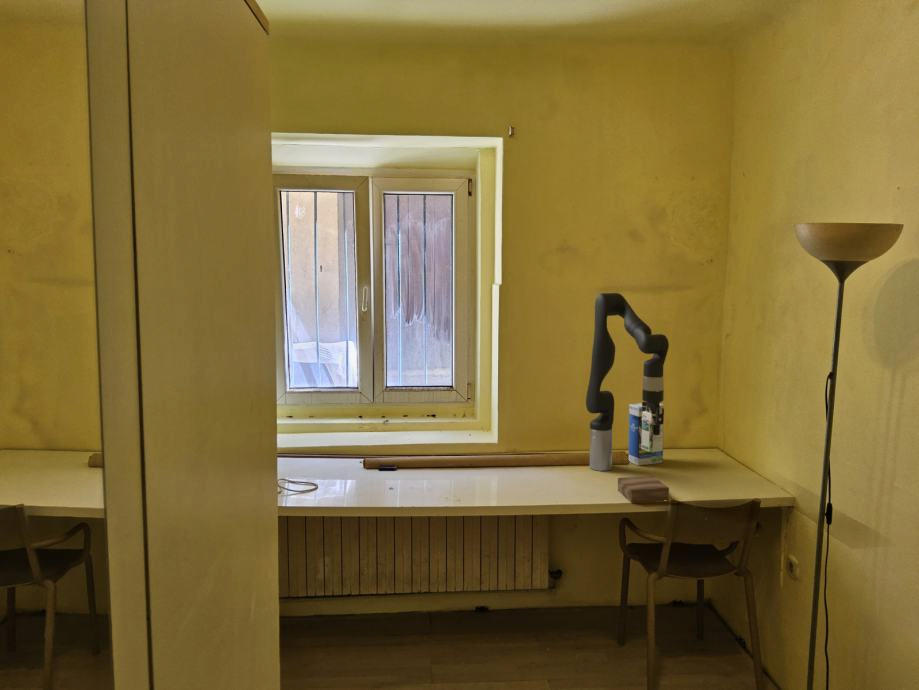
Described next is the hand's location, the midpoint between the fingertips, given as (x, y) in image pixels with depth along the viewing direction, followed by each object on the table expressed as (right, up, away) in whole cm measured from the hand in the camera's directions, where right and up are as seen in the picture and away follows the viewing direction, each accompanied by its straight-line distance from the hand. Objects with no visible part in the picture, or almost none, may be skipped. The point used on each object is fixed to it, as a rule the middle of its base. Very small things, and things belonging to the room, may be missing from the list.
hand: (652, 432), depth 241 cm
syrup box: (0, -7, +1) cm, 7 cm away
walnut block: (-3, -24, +1) cm, 24 cm away
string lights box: (+10, -19, +43) cm, 48 cm away
